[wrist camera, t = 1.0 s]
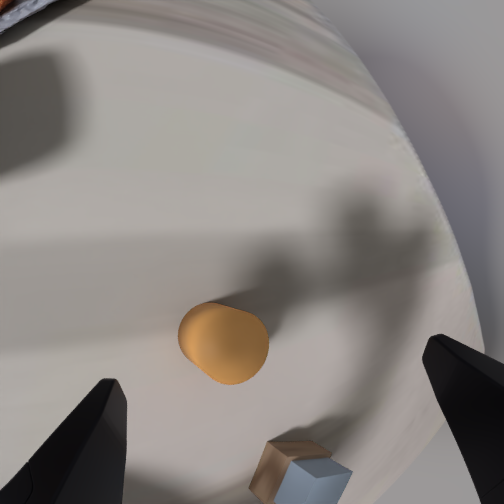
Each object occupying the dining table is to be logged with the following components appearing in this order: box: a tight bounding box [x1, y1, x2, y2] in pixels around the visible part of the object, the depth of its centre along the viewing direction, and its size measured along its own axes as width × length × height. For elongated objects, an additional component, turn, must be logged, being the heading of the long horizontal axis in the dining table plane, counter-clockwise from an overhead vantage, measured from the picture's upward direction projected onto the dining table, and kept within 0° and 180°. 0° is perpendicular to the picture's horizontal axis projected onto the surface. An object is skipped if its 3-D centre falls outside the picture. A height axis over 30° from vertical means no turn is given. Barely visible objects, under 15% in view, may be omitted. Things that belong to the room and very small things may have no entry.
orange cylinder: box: [178, 303, 269, 385], centre depth 21 cm, size 5×5×4 cm
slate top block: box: [274, 458, 353, 504], centre depth 22 cm, size 5×5×4 cm
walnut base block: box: [249, 441, 332, 504], centre depth 25 cm, size 6×6×4 cm
